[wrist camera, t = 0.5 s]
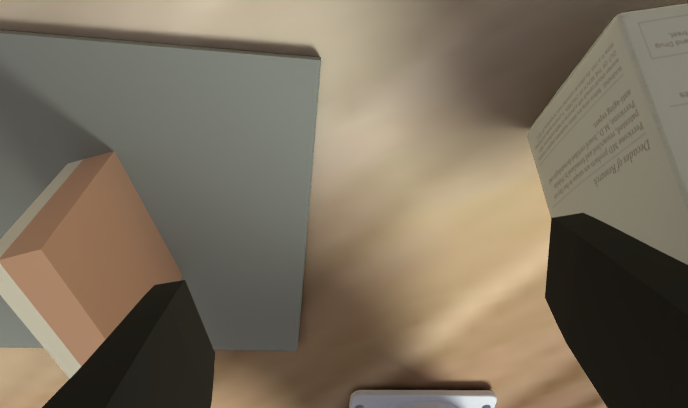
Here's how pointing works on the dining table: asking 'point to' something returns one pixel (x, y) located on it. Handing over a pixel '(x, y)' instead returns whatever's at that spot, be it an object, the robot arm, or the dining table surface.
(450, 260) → the dining table surface
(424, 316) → the dining table surface
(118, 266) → the terracotta tile
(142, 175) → the felt mat
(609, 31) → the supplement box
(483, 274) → the dining table surface
